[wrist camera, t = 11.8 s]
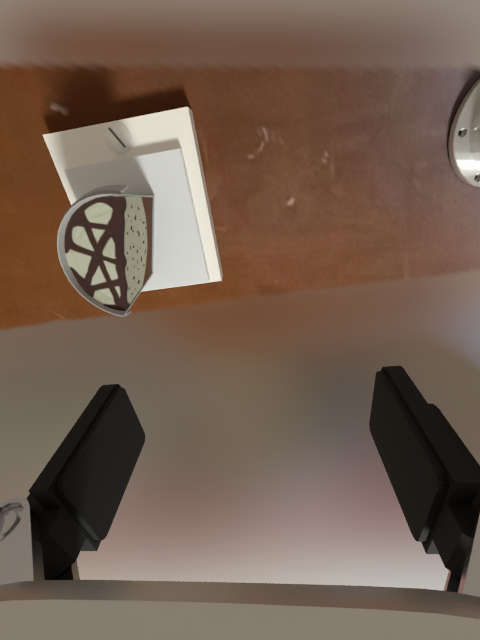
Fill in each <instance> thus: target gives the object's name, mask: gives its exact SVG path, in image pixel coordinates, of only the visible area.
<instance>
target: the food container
mask: <svg viewBox="0 0 480 640" xmlns="http://www.w3.org/2000/svg"><path fill="white" fill-rule="evenodd" d="M127 188H128V186H126V185H108V186H103V187H99V188H95V189H93V190H91V191H89V192H87V193H86V194H84V195H83V196H82V197H81V198H79V199H78V200H77V201H76V202H74V203H73V204H72V205H71V206H70V208H69V209H68V210H67V211H66V213H65V215H64V217H63V219H62V221H61V224H60V227H59V231H58V237H57V250H58V256H59V260H60V263H61V266H62V268H63V271H64V273H65V275H66V276H67V278H68V280H69V281H70V283H71V284H72V285H73V287H74V288H75V289H76V290H77V291H78V292H79V293H80V294H81V296H83V297H84V298H85V299H86V300H87V301H89V302H90V303H91V304H93V305H95V306H96V307H98V308H100V309H102V310H104V311H106V312H108V313H111V314H114V315H117V316H122V317H124V316H127V315H128V314H129V313H131V311H130V310H129V309H130V307H131V306H132V304H133V303H134V301H135V300H136V298H137V297H138V295H139V294H140V292H141V291H142V289H143V288H144V286H145V285H146V283H147V282H148V280H149V279H150V277H151V276H152V274H153V259H154V201H155V195H145V194H125V193H123V192H124V191H125V190H126V189H127Z"/></svg>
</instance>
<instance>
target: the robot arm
mask: <svg viewBox="0 0 480 640" xmlns="http://www.w3.org/2000/svg"><path fill="white" fill-rule="evenodd" d="M458 133H459V135H458ZM448 150H449V157H450V162H451V165H452V167H453V170H454V171H455V173H456V174H457V175H458V177H459V178H460V179H461V180H463V181H464V182H465V183H467V184H469V185H472V186H474V187H479V188H480V78H479V79H478V80H477V82H476V83H475V84H474V85H473V86H472V88H471V89H470V90H469V92H468V93H467V95H466V96H465V97H464V99H463V101H462V103H461V105H460V107H459V108H458V110H457V113H456V115H455V118H454V121H453V123H452V127H451V131H450V136H449V149H448ZM369 425H370V431H371V435H372V437H373V439H374V442H375V445H376V447H377V449H378V452H379V454H380V457H381V459H382V462H383V464H384V467H385V469H386V472H387V474H388V476H389V479H390V481H391V484H392V486H393V489H394V491H395V494H396V496H397V499H398V501H399V504H400V506H401V508H402V510H403V513H404V516H405V518H406V521H407V523H408V526H409V528H410V531H411V533H412V535H413V537H414V538H415V540H416V541H421V542H422V545H423V547H424V549H425V552H426V554H439V555H440V557H441V559H442V561H443V563H444V565H445V567H446V568H447V569H448V570H449V572H448V576H447V580H446V584H445V587H444V591H438V590H428V589H415V588H394V587H372V586H345V585H343V586H342V585H308V584H307V585H306V584H270V583H269V584H268V583H226V582H223V583H222V582H180V581H177V582H176V581H121V580H120V581H119V580H80V577H79V572H78V566H77V560H76V559H77V557H78V555H79V552H80V551H97V549H98V547H99V544H100V542H101V540H103V539H105V537H106V536H107V534H108V531H109V529H110V527H111V524H112V522H113V519H114V517H115V514H116V512H117V509H118V506H119V504H120V502H121V499H122V497H123V494H124V492H125V489H126V487H127V484H128V482H129V479H130V477H131V474H132V472H133V469H134V467H135V465H136V462H137V459H138V457H139V455H140V452H141V450H142V447H143V445H144V442H145V433H144V431H143V428H142V426H141V424H140V422H139V420H138V417H137V415H136V413H135V411H134V408H133V406H132V404H131V402H130V400H129V397H128V395H127V393H126V391H125V389H124V388H121V386H120V385H119V384H113V385H103V386H101V387H100V388H99V390H98V391H97V393H96V395H95V396H94V397H93V399H92V400H91V401H90V403H89V404H88V406H87V407H86V409H85V410H84V412H83V413H82V415H81V416H80V418H79V419H78V420H77V422H76V423H75V425H74V426H73V427H72V429H71V431H70V432H69V433H68V435H67V436H66V438H65V439H64V441H63V442H62V443H61V445H60V446H59V448H58V449H57V451H56V452H55V454H54V455H53V456H52V458H51V459H50V461H49V462H48V464H47V465H46V467H45V468H44V470H43V471H42V472H41V474H40V475H39V477H38V478H37V480H36V481H35V483H34V484H33V486H32V487H31V488H30V490H29V492H30V495H29V496H28V497H27V499H25V498H23V497H16V498H11V499H9V500H7V501H4V502H2V503H0V640H480V466H479V464H478V463H477V461H476V460H475V459H474V457H473V456H472V454H471V453H470V452H469V450H468V449H467V448H466V446H465V445H464V443H463V442H462V440H461V439H460V438H459V436H458V435H457V433H456V432H455V431H454V429H453V428H452V426H451V425H450V424H449V422H448V421H447V420H446V418H445V417H444V416H443V414H442V413H441V411H440V410H439V409H438V408H437V406H435V405H434V404H428V403H427V402H426V400H425V399H424V398H423V396H422V395H421V393H420V392H419V390H418V389H417V387H416V386H415V385H414V383H413V382H412V380H411V379H410V377H409V376H408V374H407V373H406V372H405V370H404V368H403V367H402V366H389V367H382V369H381V371H379V372H377V373H376V378H375V386H374V393H373V400H372V409H371V416H370V424H369Z"/></svg>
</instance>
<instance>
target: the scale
mask: <svg viewBox="0 0 480 640" xmlns="http://www.w3.org/2000/svg"><path fill="white" fill-rule="evenodd" d="M43 137H44V140H45V142H46V144H47V147H48V149H49V152H50V154H51V157H52V159H53V161H54V164H55V166H56V169H57V171H58V174H59V176H60V179H61V181H62V183H63V186H64V188H65V191H66V193H67V196H68V198H69V200H70V203H71V205H72V204H73V203H74V202H76V201H77V200H78V199H79V198H81V197H82V196H83V195H84V194H86V193H87V192H89V191H91V190H93V189H95V188H99V187H103V186H108V185H126V186H128V188H127V189H126V190H125V191H124V192H123V193H125V194H145V195H155V201H154V259H153V274H152V276H151V277H150V279H149V280H148V282H147V283H146V285H145V286H144V288H143V289H142V291H149V290H156V289H164V288H171V287H179V286H186V285H193V284H201V283H208V282H216V281H222V277H223V272H222V267H221V262H220V256H219V251H218V246H217V240H216V235H215V230H214V225H213V219H212V214H211V209H210V203H209V198H208V193H207V188H206V182H205V177H204V172H203V166H202V161H201V156H200V151H199V145H198V140H197V135H196V129H195V124H194V119H193V114H192V110H191V109H190V108H189V107H183V108H178V109H173V110H168V111H163V112H158V113H152V114H147V115H142V116H137V117H132V118H127V119H122V120H117V121H112V122H106V123H101V124H96V125H91V126H86V127H81V128H76V129H71V130H65V131H60V132H55V133H50V134H45V135H43ZM142 291H141V292H142Z"/></svg>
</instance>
